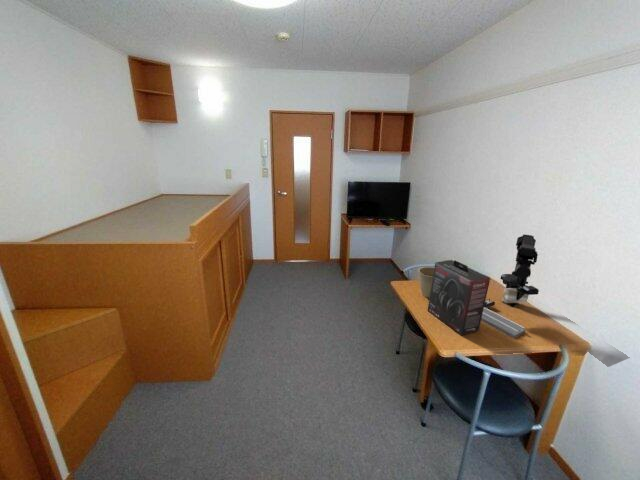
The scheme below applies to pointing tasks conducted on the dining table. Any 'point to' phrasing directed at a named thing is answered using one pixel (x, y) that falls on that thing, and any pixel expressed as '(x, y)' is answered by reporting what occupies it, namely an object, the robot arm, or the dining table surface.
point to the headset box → (458, 296)
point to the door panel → (513, 296)
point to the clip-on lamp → (488, 303)
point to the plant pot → (426, 280)
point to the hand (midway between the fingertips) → (514, 298)
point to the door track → (502, 323)
